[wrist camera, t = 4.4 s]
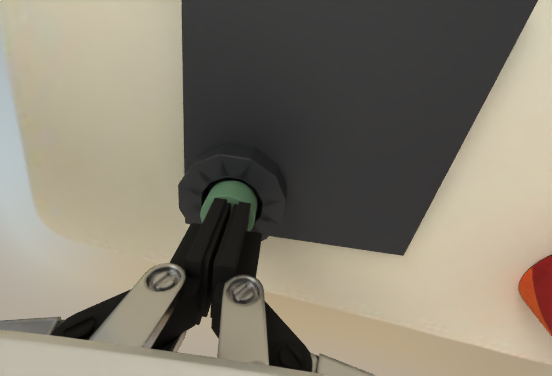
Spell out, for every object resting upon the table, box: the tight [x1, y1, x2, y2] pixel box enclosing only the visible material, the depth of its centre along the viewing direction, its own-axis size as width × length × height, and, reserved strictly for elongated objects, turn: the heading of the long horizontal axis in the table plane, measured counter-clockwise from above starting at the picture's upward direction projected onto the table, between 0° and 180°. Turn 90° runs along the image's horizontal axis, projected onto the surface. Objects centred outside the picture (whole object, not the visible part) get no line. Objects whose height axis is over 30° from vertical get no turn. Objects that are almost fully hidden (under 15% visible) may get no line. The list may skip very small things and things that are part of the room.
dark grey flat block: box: [178, 0, 538, 256], centre depth 13 cm, size 14×14×3 cm
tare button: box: [200, 180, 257, 231], centre depth 13 cm, size 3×3×2 cm
